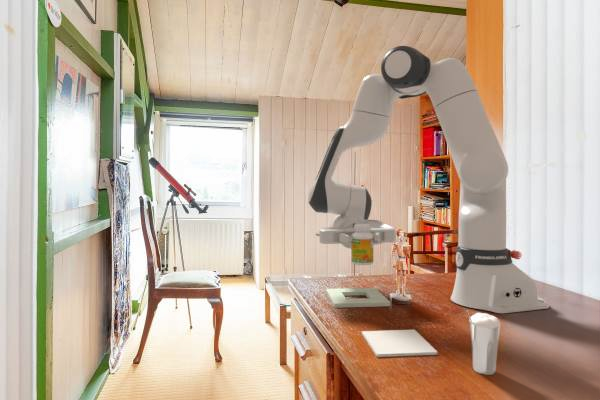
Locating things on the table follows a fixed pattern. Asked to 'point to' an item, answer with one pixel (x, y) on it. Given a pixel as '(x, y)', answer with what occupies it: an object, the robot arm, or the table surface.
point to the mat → (398, 343)
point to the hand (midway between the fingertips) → (363, 239)
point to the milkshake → (484, 342)
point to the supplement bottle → (362, 245)
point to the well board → (372, 299)
